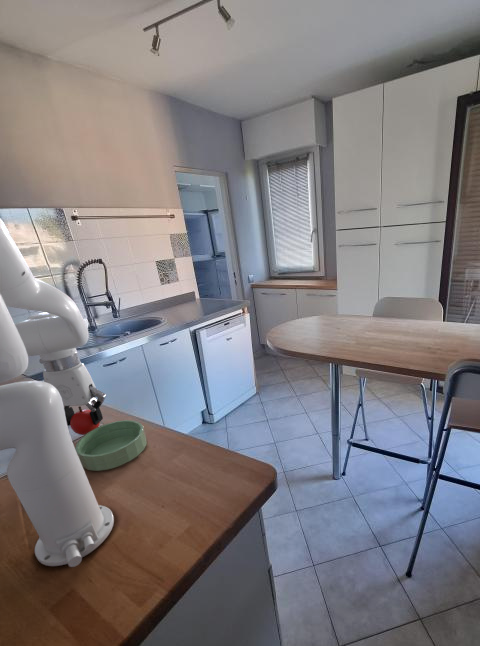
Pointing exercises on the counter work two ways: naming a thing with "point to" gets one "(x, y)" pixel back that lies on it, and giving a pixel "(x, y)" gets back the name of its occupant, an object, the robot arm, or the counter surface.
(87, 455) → the bowl
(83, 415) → the apple
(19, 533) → the counter surface
